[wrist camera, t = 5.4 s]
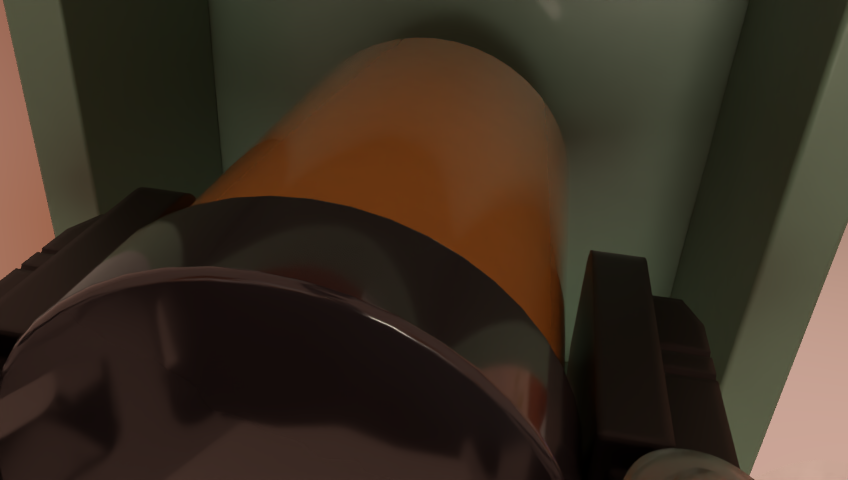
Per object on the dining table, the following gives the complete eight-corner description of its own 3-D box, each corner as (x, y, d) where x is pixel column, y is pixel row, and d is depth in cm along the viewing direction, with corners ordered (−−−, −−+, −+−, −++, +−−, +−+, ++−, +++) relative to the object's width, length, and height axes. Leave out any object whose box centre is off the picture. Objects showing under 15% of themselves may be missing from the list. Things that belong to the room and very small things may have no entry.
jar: (275, 9, 13) (-91, 223, 6) (607, 43, 12) (645, 336, 5) (288, 281, 15) (52, 648, 8) (556, 323, 15) (536, 761, 8)
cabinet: (397, -210, 33) (-72, -327, 9) (691, -192, 32) (1046, -281, 8) (387, 89, 40) (103, 463, 16) (628, 117, 38) (711, 581, 14)
